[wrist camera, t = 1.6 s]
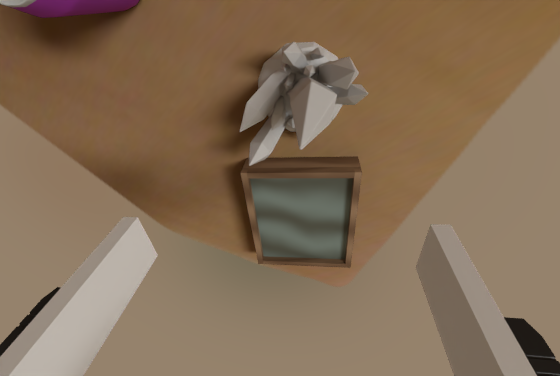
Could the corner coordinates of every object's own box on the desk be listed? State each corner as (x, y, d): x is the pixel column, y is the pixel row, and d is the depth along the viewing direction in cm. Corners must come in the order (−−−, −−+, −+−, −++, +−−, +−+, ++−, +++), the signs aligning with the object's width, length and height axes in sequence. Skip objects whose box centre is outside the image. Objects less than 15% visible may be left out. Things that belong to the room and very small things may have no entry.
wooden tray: (246, 158, 36) (240, 173, 33) (357, 156, 34) (361, 172, 31) (262, 246, 46) (258, 263, 43) (348, 249, 44) (350, 267, 41)
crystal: (229, 103, 32) (176, 170, 20) (312, 6, 25) (308, 18, 13) (288, 156, 35) (273, 241, 23) (374, 83, 28) (416, 149, 16)
